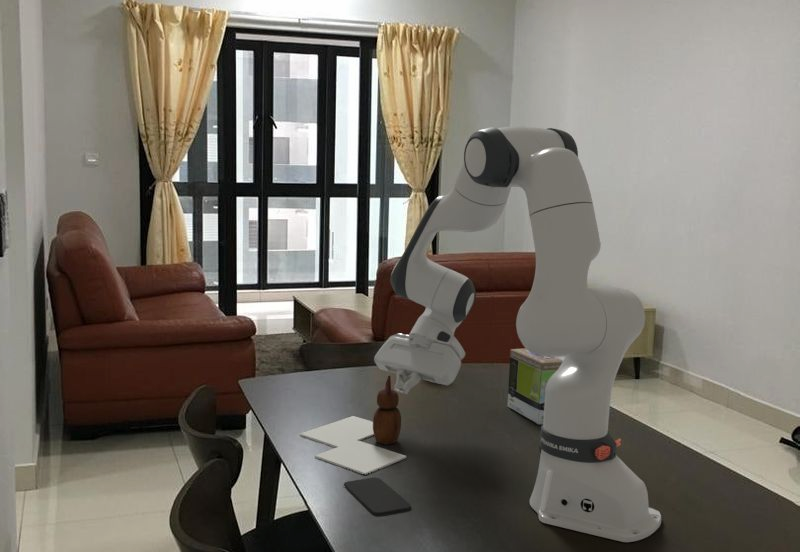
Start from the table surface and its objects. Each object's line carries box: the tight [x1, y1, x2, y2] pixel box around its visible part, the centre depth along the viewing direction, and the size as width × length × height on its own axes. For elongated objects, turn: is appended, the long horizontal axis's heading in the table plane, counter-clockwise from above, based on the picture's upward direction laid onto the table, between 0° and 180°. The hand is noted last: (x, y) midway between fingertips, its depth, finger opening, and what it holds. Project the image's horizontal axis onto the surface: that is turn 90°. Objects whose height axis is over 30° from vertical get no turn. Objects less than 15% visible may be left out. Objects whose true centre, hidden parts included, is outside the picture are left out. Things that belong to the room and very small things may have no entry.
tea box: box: [507, 347, 565, 425], centre depth 201 cm, size 15×10×15 cm, turn 22°
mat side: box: [314, 440, 407, 476], centre depth 171 cm, size 14×12×1 cm
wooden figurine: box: [372, 375, 402, 445], centre depth 179 cm, size 7×6×15 cm
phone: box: [343, 477, 412, 517], centre depth 152 cm, size 7×1×15 cm
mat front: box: [299, 415, 374, 448], centre depth 186 cm, size 12×17×1 cm
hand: (399, 391), depth 182 cm, fingers closed
